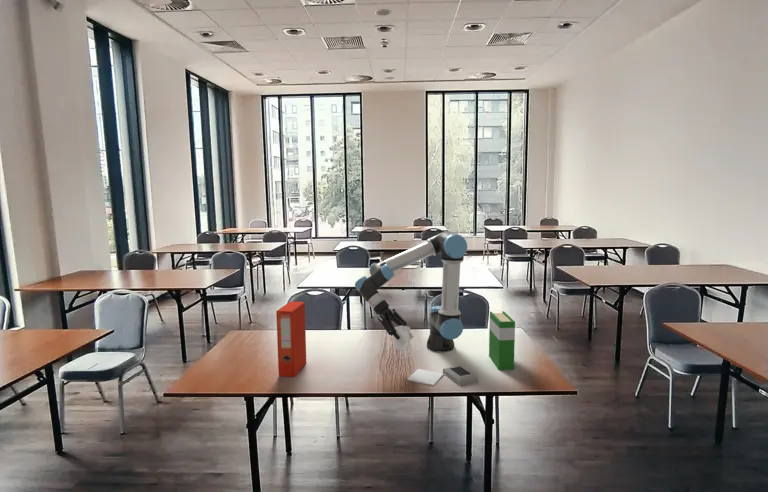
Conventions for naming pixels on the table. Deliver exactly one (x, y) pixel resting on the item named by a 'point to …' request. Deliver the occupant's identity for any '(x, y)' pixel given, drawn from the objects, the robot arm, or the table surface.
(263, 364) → the table surface
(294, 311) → the file binder
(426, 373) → the mat
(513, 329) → the hardback book
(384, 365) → the table surface
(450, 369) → the grey box
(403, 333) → the white cup
